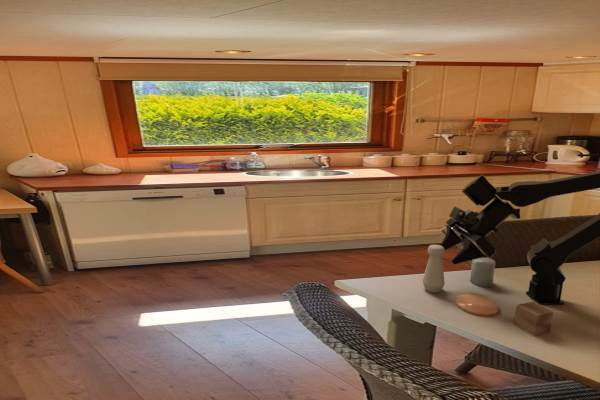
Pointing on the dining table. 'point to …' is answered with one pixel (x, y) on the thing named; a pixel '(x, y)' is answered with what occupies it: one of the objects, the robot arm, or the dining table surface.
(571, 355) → the dining table surface
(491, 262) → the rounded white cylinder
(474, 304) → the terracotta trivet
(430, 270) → the salt shaker
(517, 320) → the walnut block
